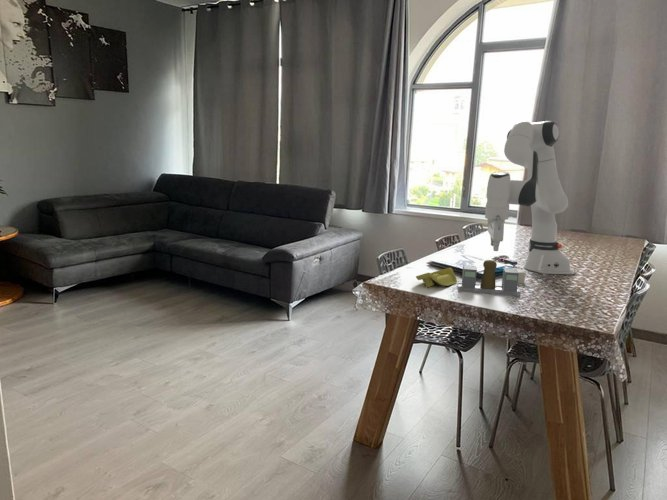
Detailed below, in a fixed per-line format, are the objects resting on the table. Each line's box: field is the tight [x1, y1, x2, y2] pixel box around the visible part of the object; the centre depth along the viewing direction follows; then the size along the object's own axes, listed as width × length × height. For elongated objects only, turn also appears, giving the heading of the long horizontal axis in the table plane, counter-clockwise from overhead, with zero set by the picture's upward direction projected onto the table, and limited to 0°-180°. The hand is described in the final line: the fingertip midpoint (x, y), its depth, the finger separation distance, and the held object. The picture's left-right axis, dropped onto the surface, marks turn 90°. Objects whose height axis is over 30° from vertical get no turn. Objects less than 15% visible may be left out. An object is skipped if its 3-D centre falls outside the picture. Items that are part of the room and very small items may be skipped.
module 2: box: [501, 267, 519, 293], centre depth 198 cm, size 5×7×8 cm
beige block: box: [516, 268, 526, 284], centre depth 216 cm, size 4×5×5 cm
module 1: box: [461, 264, 478, 289], centre depth 201 cm, size 5×7×8 cm
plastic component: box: [415, 267, 458, 288], centre depth 209 cm, size 20×7×10 cm
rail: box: [457, 281, 521, 297], centre depth 201 cm, size 24×7×2 cm, turn 78°
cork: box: [480, 259, 498, 289], centre depth 200 cm, size 6×6×11 cm
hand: (494, 248), depth 197 cm, fingers open, 8 cm apart
